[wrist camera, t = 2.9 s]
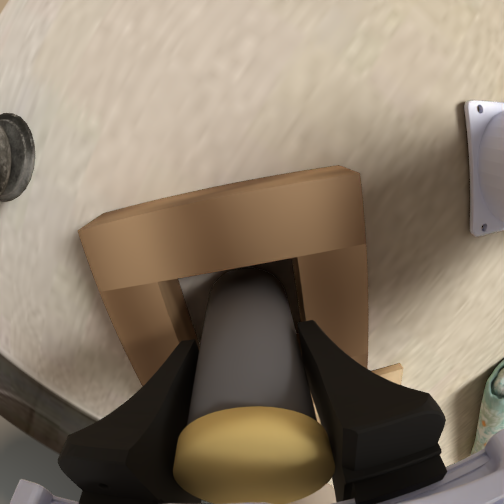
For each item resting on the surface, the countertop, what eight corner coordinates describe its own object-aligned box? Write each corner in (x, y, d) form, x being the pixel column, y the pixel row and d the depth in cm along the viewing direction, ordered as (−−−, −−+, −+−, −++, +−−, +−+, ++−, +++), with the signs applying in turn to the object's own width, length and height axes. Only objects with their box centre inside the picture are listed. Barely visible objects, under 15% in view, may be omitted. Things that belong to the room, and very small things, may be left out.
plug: (284, 255, 16) (334, 422, 6) (295, 330, 17) (334, 496, 8) (195, 272, 16) (146, 442, 6) (216, 343, 17) (201, 510, 8)
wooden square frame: (338, 165, 15) (360, 173, 12) (352, 359, 19) (366, 391, 16) (103, 213, 15) (77, 230, 12) (170, 388, 20) (162, 421, 17)
